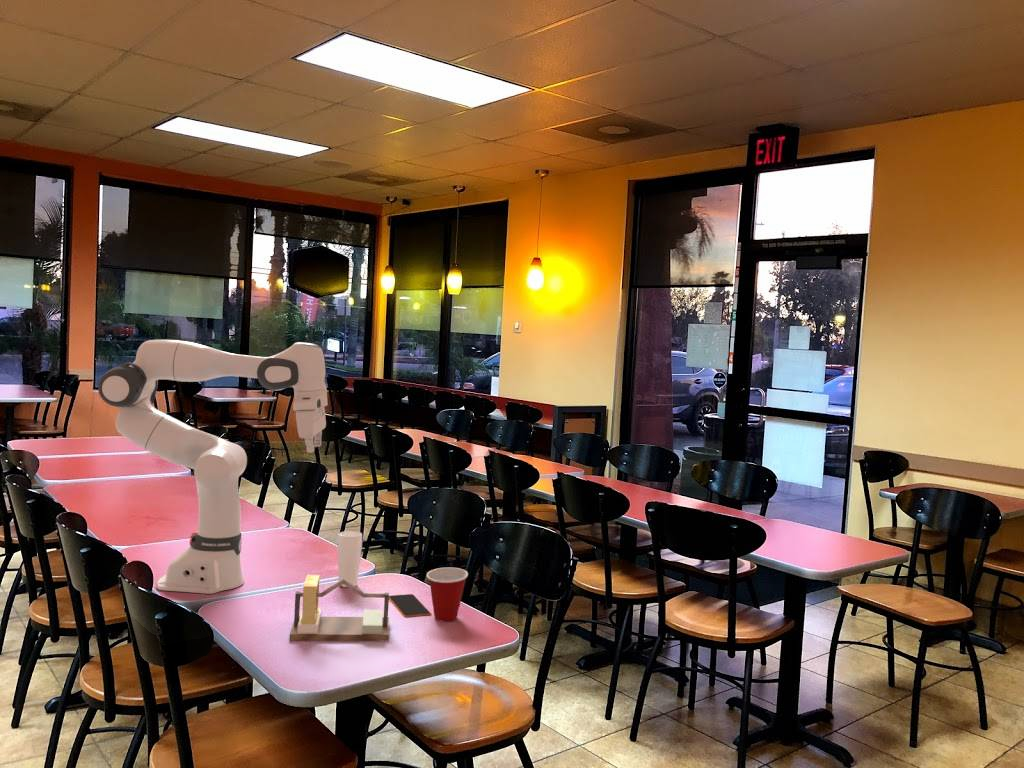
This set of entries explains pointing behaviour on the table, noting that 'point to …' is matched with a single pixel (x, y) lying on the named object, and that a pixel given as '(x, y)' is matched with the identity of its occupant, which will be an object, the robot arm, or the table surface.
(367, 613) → the end block
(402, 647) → the table surface
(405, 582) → the table surface
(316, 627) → the block
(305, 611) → the yellow upright block
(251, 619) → the table surface
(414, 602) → the smartphone
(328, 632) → the buzz wire
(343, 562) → the white cylinder
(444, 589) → the plastic cup
